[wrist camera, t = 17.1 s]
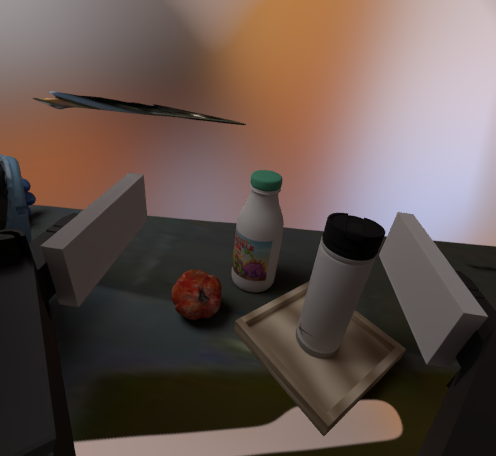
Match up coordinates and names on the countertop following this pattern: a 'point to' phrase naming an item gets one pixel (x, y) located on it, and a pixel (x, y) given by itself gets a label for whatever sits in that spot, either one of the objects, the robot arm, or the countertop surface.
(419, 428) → the countertop surface
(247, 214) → the milk bottle
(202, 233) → the countertop surface
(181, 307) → the pomegranate
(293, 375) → the wood tray
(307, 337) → the travel mug
